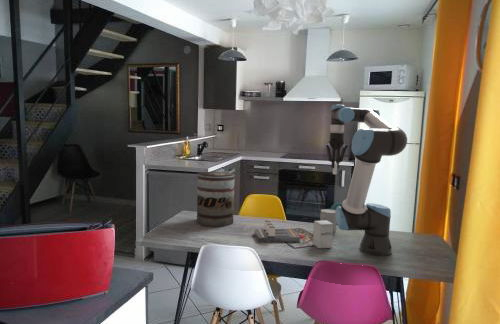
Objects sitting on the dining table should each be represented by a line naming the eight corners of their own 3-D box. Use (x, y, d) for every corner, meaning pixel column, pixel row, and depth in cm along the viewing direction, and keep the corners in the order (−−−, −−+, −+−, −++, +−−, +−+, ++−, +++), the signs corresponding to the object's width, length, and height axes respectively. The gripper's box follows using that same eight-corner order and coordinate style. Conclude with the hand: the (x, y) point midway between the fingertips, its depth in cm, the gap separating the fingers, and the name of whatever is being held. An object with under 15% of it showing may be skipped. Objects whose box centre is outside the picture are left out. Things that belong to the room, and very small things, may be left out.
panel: (299, 241, 193) (300, 236, 193) (258, 242, 190) (259, 237, 190) (292, 233, 208) (292, 228, 207) (254, 233, 205) (254, 229, 204)
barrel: (191, 225, 218) (192, 175, 214) (203, 216, 240) (204, 170, 236) (227, 228, 213) (229, 177, 210) (236, 218, 235) (238, 172, 232)
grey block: (337, 234, 209) (339, 213, 208) (321, 233, 209) (322, 212, 208) (334, 229, 218) (335, 209, 217) (318, 228, 219) (319, 208, 217)
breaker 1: (270, 230, 202) (271, 221, 202) (265, 230, 202) (265, 221, 201) (269, 228, 205) (270, 220, 204) (264, 228, 204) (264, 220, 204)
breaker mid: (272, 233, 197) (273, 224, 196) (266, 233, 196) (267, 224, 196) (271, 231, 199) (272, 223, 199) (266, 231, 199) (266, 223, 199)
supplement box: (319, 248, 183) (320, 224, 182) (312, 244, 190) (313, 220, 189) (332, 247, 185) (333, 223, 184) (325, 243, 192) (326, 219, 191)
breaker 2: (274, 236, 191) (275, 227, 191) (268, 236, 191) (269, 227, 191) (273, 234, 194) (274, 226, 194) (268, 234, 194) (268, 226, 193)
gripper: (345, 132, 210) (342, 173, 212) (323, 132, 208) (321, 173, 210) (350, 133, 202) (348, 175, 205) (328, 132, 200) (325, 174, 203)
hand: (334, 174), depth 207 cm, fingers closed
